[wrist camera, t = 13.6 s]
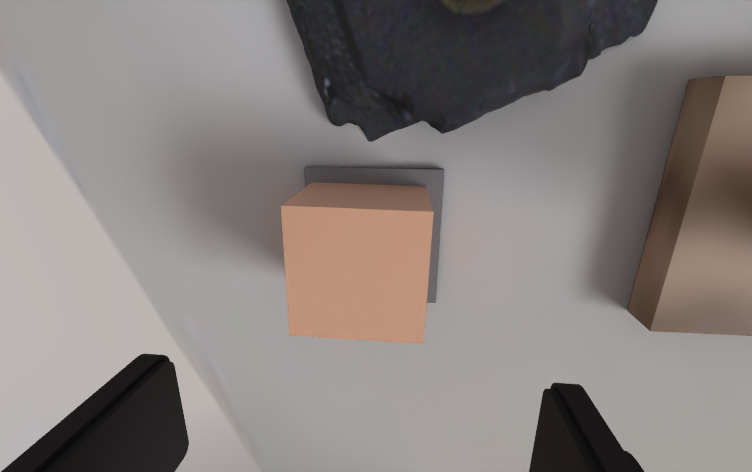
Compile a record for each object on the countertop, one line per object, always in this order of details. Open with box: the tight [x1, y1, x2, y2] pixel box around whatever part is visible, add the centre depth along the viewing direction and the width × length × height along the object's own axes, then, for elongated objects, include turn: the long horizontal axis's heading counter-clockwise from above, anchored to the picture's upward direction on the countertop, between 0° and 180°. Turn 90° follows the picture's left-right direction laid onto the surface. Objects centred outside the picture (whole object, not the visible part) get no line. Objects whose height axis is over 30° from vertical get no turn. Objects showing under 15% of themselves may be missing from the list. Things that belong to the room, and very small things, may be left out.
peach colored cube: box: [281, 182, 434, 344], centre depth 17 cm, size 6×6×5 cm
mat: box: [304, 166, 444, 303], centre depth 20 cm, size 8×7×1 cm
